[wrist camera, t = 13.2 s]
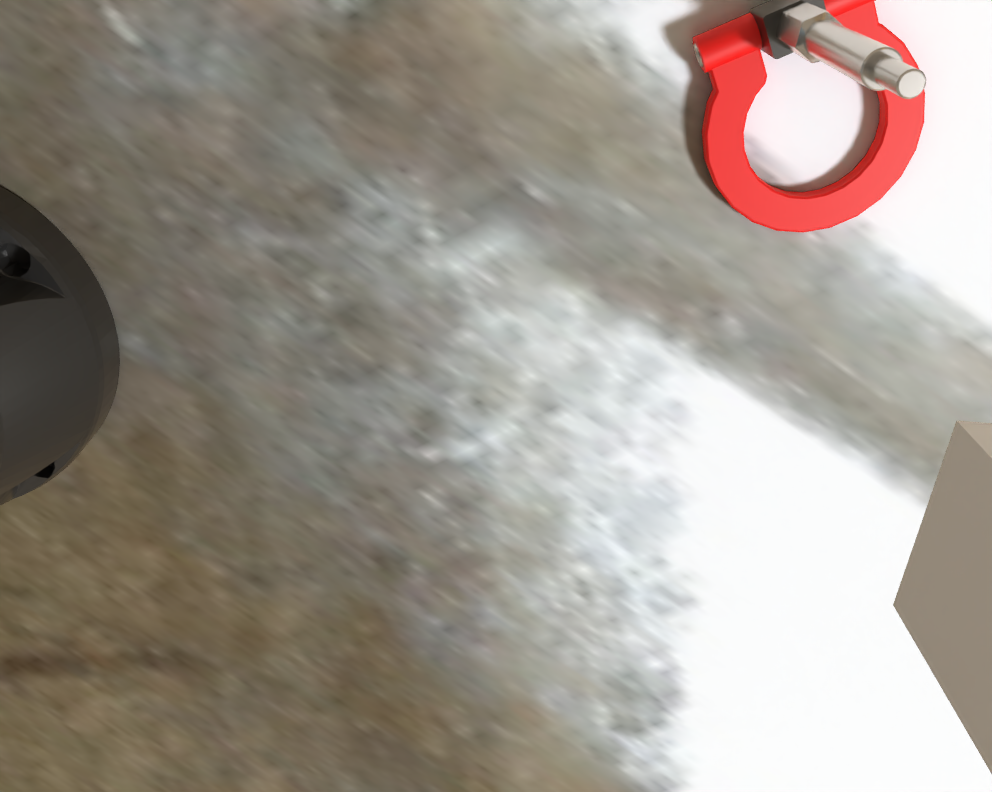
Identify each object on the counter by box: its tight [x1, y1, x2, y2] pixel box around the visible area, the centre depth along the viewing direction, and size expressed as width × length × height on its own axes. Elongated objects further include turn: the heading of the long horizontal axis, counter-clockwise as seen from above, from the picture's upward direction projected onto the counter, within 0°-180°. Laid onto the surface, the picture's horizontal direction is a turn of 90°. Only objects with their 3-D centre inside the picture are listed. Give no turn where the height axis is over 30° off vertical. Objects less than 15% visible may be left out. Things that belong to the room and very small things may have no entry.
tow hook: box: [693, 0, 926, 232], centre depth 32 cm, size 8×13×9 cm
